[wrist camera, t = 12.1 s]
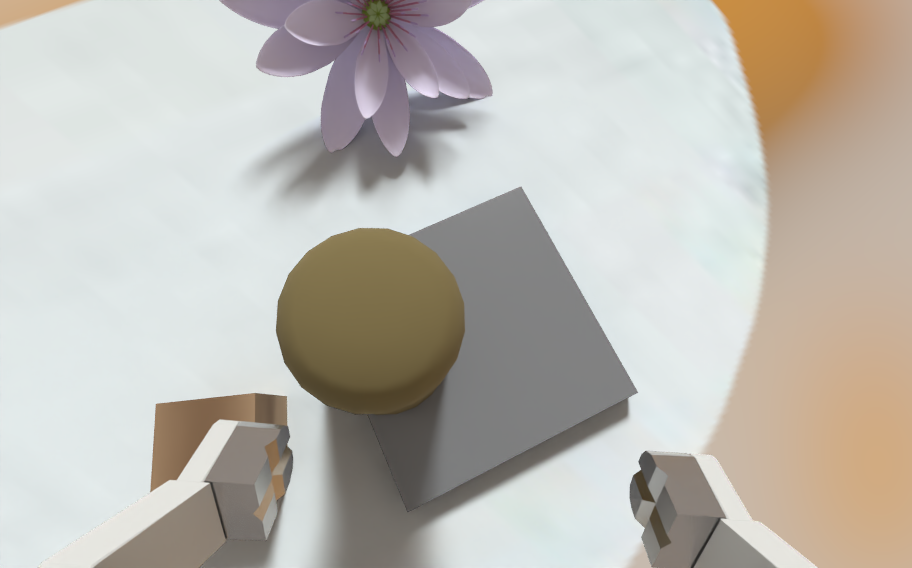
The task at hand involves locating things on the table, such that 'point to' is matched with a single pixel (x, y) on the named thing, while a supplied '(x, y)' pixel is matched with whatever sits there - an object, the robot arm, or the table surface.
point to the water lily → (368, 58)
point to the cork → (370, 321)
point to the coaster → (502, 355)
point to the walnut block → (203, 427)
